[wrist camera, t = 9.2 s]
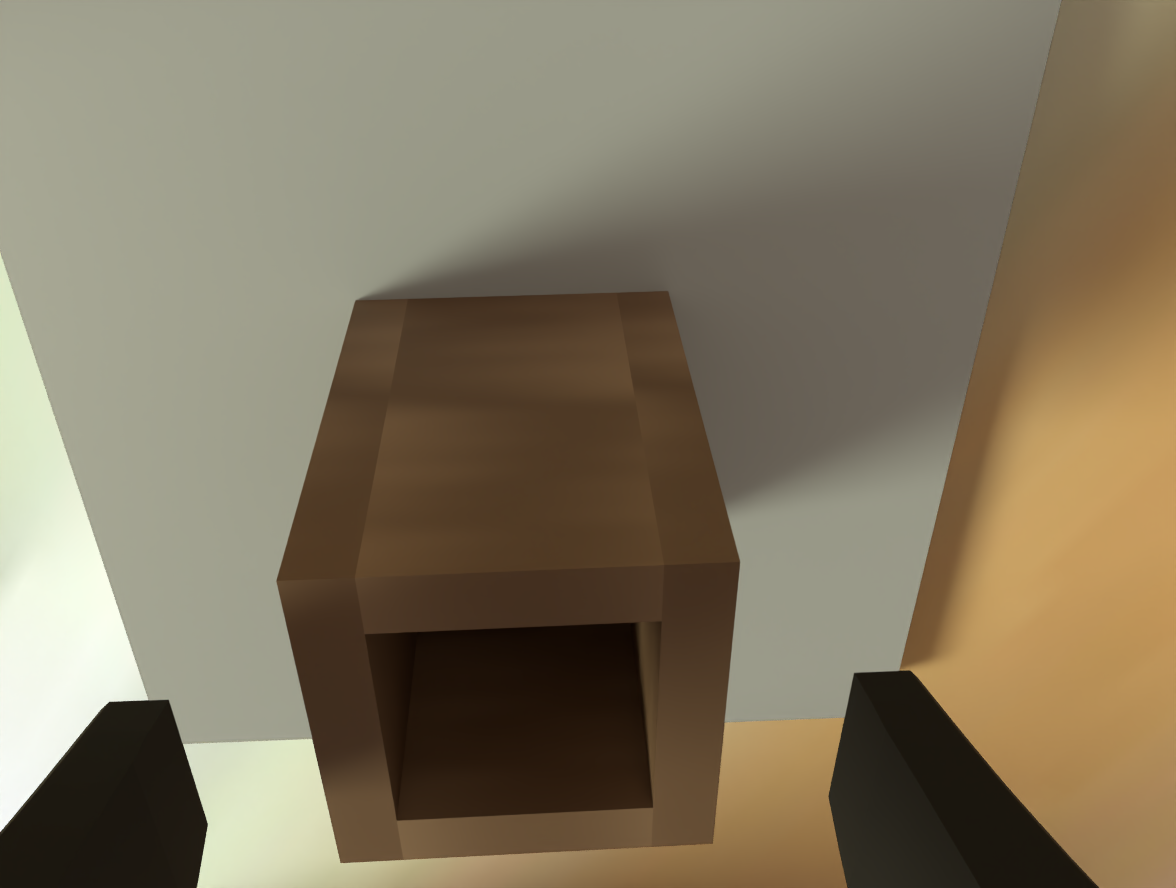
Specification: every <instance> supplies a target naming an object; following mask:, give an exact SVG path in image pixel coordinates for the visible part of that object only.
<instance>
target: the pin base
mask: <svg viewBox="0 0 1176 888" xmlns="http://www.w3.org/2000/svg"><path fill="white" fill-rule="evenodd" d="M1061 1H1062V0H0V253H1V256H2V259H3V262H4V265H5V268H6V271H7V274H8V277H9V280H10V283H11V286H12V289H13V292H14V295H15V298H16V301H17V304H18V307H19V310H20V313H21V316H22V319H23V322H24V325H25V328H26V331H27V334H28V337H29V340H30V343H31V346H32V349H33V352H34V355H35V358H36V361H37V364H38V367H39V371H40V374H41V377H42V380H43V383H44V386H45V389H46V392H47V395H48V398H49V401H50V404H51V407H52V410H53V413H54V416H55V419H56V422H57V425H58V428H59V431H60V434H61V437H62V440H63V443H64V446H65V449H66V452H67V455H68V458H69V461H70V464H71V467H72V470H73V473H74V476H75V479H76V482H77V485H78V488H79V491H80V494H81V497H82V500H83V503H84V506H85V509H86V512H87V515H88V518H89V521H90V524H91V527H92V530H93V533H94V537H95V540H96V543H97V546H98V549H99V552H100V555H101V558H102V561H103V564H104V567H105V570H106V573H107V576H108V579H109V582H110V585H111V588H112V591H113V594H114V597H115V600H116V603H117V606H118V609H119V612H120V615H121V618H122V621H123V624H124V627H125V630H126V633H127V636H128V639H129V642H130V645H131V648H132V651H133V654H134V657H135V660H136V663H137V666H138V669H139V672H140V675H141V678H142V681H143V684H144V687H145V690H146V693H147V696H148V700H169V702H170V705H171V708H172V711H173V714H174V718H175V721H176V724H177V727H178V730H179V734H180V737H181V740H182V743H183V744H192V743H217V742H243V741H268V740H293V739H312V735H311V731H310V727H309V722H308V718H307V713H306V709H305V705H304V700H303V696H302V692H301V687H300V683H299V678H298V674H297V670H296V665H295V661H294V657H293V652H292V648H291V643H290V639H289V635H288V630H287V626H286V622H285V617H284V613H283V608H282V604H281V600H280V595H279V591H278V587H277V582H276V580H277V577H278V573H279V569H280V566H281V562H282V559H283V555H284V552H285V548H286V545H287V541H288V537H289V534H290V530H291V527H292V523H293V520H294V516H295V513H296V509H297V506H298V502H299V498H300V495H301V491H302V488H303V484H304V481H305V477H306V474H307V470H308V466H309V463H310V459H311V456H312V452H313V449H314V445H315V442H316V438H317V434H318V431H319V427H320V424H321V420H322V417H323V413H324V410H325V406H326V403H327V399H328V395H329V392H330V388H331V385H332V381H333V378H334V374H335V371H336V367H337V363H338V360H339V356H340V353H341V349H342V346H343V342H344V339H345V335H346V331H347V328H348V324H349V321H350V317H351V314H352V310H353V307H354V303H355V300H388V299H421V298H455V297H488V296H521V295H554V294H587V293H621V292H654V291H668V292H669V296H670V300H671V303H672V307H673V311H674V315H675V318H676V322H677V326H678V330H679V333H680V337H681V341H682V345H683V348H684V352H685V356H686V360H687V363H688V367H689V371H690V375H691V378H692V382H693V386H694V390H695V394H696V397H697V401H698V405H699V409H700V412H701V416H702V420H703V424H704V427H705V431H706V435H707V439H708V442H709V446H710V450H711V454H712V457H713V461H714V465H715V469H716V472H717V476H718V480H719V484H720V487H721V491H722V495H723V499H724V502H725V506H726V510H727V514H728V517H729V521H730V525H731V529H732V532H733V536H734V540H735V544H736V547H737V551H738V555H739V559H740V571H739V581H738V591H737V601H736V611H735V622H734V632H733V642H732V652H731V662H730V672H729V683H728V693H727V703H726V713H725V722H745V721H770V720H796V719H821V718H845V714H846V709H847V704H848V699H849V694H850V690H851V685H852V680H853V675H854V673H859V672H884V671H899V669H900V665H901V661H902V657H903V653H904V649H905V645H906V640H907V636H908V632H909V628H910V624H911V620H912V616H913V611H914V607H915V603H916V599H917V595H918V591H919V587H920V583H921V578H922V574H923V570H924V566H925V562H926V558H927V554H928V550H929V545H930V541H931V537H932V533H933V529H934V525H935V521H936V517H937V512H938V508H939V504H940V500H941V496H942V492H943V488H944V484H945V479H946V475H947V471H948V467H949V463H950V459H951V455H952V451H953V446H954V442H955V438H956V434H957V430H958V426H959V422H960V418H961V413H962V409H963V405H964V401H965V397H966V393H967V389H968V385H969V380H970V376H971V372H972V368H973V364H974V360H975V356H976V352H977V347H978V343H979V339H980V335H981V331H982V327H983V323H984V319H985V314H986V310H987V306H988V302H989V298H990V294H991V290H992V286H993V281H994V277H995V273H996V269H997V265H998V261H999V257H1000V252H1001V248H1002V244H1003V240H1004V236H1005V232H1006V228H1007V224H1008V219H1009V215H1010V211H1011V207H1012V203H1013V199H1014V195H1015V191H1016V186H1017V182H1018V178H1019V174H1020V170H1021V166H1022V162H1023V158H1024V153H1025V149H1026V145H1027V141H1028V137H1029V133H1030V129H1031V125H1032V120H1033V116H1034V112H1035V108H1036V104H1037V100H1038V96H1039V92H1040V87H1041V83H1042V79H1043V75H1044V71H1045V67H1046V63H1047V59H1048V54H1049V50H1050V46H1051V42H1052V38H1053V34H1054V30H1055V26H1056V21H1057V17H1058V13H1059V9H1060V5H1061Z"/></svg>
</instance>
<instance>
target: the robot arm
mask: <svg viewBox="0 0 1176 888" xmlns="http://www.w3.org/2000/svg"><path fill="white" fill-rule="evenodd" d="M829 801H830V806H831V811H832V816H833V821H834V826H835V831H836V836H837V841H838V846H839V851H840V855H841V860H842V865H843V869H844V874H845V878H846V883H847V887H848V888H1099V887H1098V886H1097V885H1096V884H1095V883H1094V882H1093V881H1092V880H1091V879H1090V878H1089V877H1088V876H1087V874H1086V873H1085V872H1084V871H1083V870H1082V869H1081V868H1080V867H1079V866H1078V865H1077V864H1076V863H1075V862H1074V861H1073V860H1072V859H1071V857H1070V856H1069V855H1068V854H1067V853H1066V852H1065V851H1064V850H1063V849H1062V848H1061V846H1060V845H1059V844H1058V843H1057V842H1056V841H1055V840H1054V839H1053V838H1052V836H1051V835H1050V834H1049V833H1048V832H1047V831H1046V830H1045V829H1044V827H1043V826H1042V825H1041V824H1040V823H1039V822H1038V821H1037V820H1036V819H1035V817H1034V816H1033V815H1032V814H1031V813H1030V812H1029V811H1028V810H1027V809H1026V807H1025V806H1024V805H1023V804H1022V803H1021V802H1020V801H1019V800H1018V798H1017V797H1016V796H1015V795H1014V794H1013V793H1012V791H1011V790H1010V789H1009V788H1008V787H1007V786H1006V784H1005V783H1004V782H1003V781H1002V780H1001V779H1000V777H999V776H998V775H997V774H996V773H995V772H994V770H993V769H992V768H991V767H990V766H989V764H988V763H987V762H986V761H985V760H984V758H983V757H982V756H981V755H980V754H979V752H978V751H977V750H976V749H975V748H974V746H973V745H972V744H971V743H970V742H969V740H968V739H967V738H966V737H965V736H964V734H963V733H962V732H961V731H960V729H959V728H958V727H957V726H956V725H955V723H954V722H953V721H952V720H951V718H950V717H949V716H948V715H947V713H946V712H945V711H944V710H943V708H942V707H941V706H940V705H939V704H938V702H937V701H936V700H935V699H934V697H933V696H932V695H931V694H930V692H929V691H928V690H927V689H926V687H925V686H924V685H923V684H922V682H921V681H920V680H919V679H918V678H917V677H916V676H915V675H914V674H913V673H912V672H911V671H884V672H859V673H854V675H853V680H852V685H851V690H850V694H849V699H848V704H847V709H846V714H845V719H844V724H843V728H842V733H841V738H840V743H839V748H838V753H837V758H836V762H835V767H834V772H833V777H832V782H831V787H830V792H829ZM207 826H208V823H207V820H206V817H205V814H204V811H203V807H202V804H201V801H200V798H199V795H198V791H197V788H196V785H195V782H194V779H193V775H192V772H191V769H190V766H189V763H188V759H187V756H186V753H185V750H184V747H183V743H182V740H181V737H180V734H179V730H178V727H177V724H176V721H175V718H174V714H173V711H172V708H171V705H170V702H169V700H146V701H121V702H109V703H108V704H107V705H106V706H104V707H103V708H102V709H101V710H100V712H99V713H98V714H97V715H96V716H95V718H94V719H93V720H92V721H91V723H90V724H89V725H88V726H87V727H86V729H85V730H84V731H83V732H82V734H81V735H80V736H79V737H78V739H77V740H76V741H75V742H74V743H73V745H72V746H71V747H70V748H69V750H68V751H67V752H66V753H65V755H64V756H63V757H62V758H61V760H60V761H59V762H58V763H57V764H56V766H55V767H54V768H53V769H52V771H51V772H50V773H49V774H48V775H47V777H46V778H45V779H44V780H43V782H42V783H41V784H40V785H39V786H38V788H37V789H36V790H35V791H34V793H33V794H32V795H31V796H30V797H29V799H28V800H27V801H26V802H25V803H24V805H23V806H22V807H21V808H20V809H19V811H18V812H17V813H16V814H15V815H14V817H13V818H12V819H11V820H10V821H9V823H8V824H7V825H6V826H5V827H4V829H3V830H2V831H1V832H0V888H197V883H198V878H199V873H200V867H201V861H202V855H203V849H204V844H205V838H206V832H207Z"/></svg>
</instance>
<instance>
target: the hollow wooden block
mask: <svg viewBox="0 0 1176 888" xmlns="http://www.w3.org/2000/svg"><path fill="white" fill-rule="evenodd" d="M739 571H740V559H739V555H738V551H737V547H736V544H735V540H734V536H733V532H732V529H731V525H730V521H729V517H728V514H727V510H726V506H725V502H724V499H723V495H722V491H721V487H720V484H719V480H718V476H717V472H716V469H715V465H714V461H713V457H712V454H711V450H710V446H709V442H708V439H707V435H706V431H705V427H704V424H703V420H702V416H701V412H700V409H699V405H698V401H697V397H696V394H695V390H694V386H693V382H692V378H691V375H690V371H689V367H688V363H687V360H686V356H685V352H684V348H683V345H682V341H681V337H680V333H679V330H678V326H677V322H676V318H675V315H674V311H673V307H672V303H671V300H670V296H669V292H668V291H654V292H621V293H587V294H554V295H521V296H488V297H455V298H421V299H388V300H355V303H354V307H353V310H352V314H351V317H350V321H349V324H348V328H347V331H346V335H345V339H344V342H343V346H342V349H341V353H340V356H339V360H338V363H337V367H336V371H335V374H334V378H333V381H332V385H331V388H330V392H329V395H328V399H327V403H326V406H325V410H324V413H323V417H322V420H321V424H320V427H319V431H318V434H317V438H316V442H315V445H314V449H313V452H312V456H311V459H310V463H309V466H308V470H307V474H306V477H305V481H304V484H303V488H302V491H301V495H300V498H299V502H298V506H297V509H296V513H295V516H294V520H293V523H292V527H291V530H290V534H289V537H288V541H287V545H286V548H285V552H284V555H283V559H282V562H281V566H280V569H279V573H278V577H277V580H276V582H277V587H278V591H279V595H280V600H281V604H282V608H283V613H284V617H285V622H286V626H287V630H288V635H289V639H290V643H291V648H292V652H293V657H294V661H295V665H296V670H297V674H298V678H299V683H300V687H301V692H302V696H303V700H304V705H305V709H306V713H307V718H308V722H309V727H310V731H311V735H312V740H313V744H314V748H315V753H316V757H317V761H318V766H319V770H320V775H321V779H322V783H323V788H324V792H325V796H326V801H327V805H328V810H329V814H330V818H331V823H332V827H333V831H334V836H335V840H336V845H337V849H338V853H339V858H340V862H341V863H351V862H370V861H389V860H408V859H428V858H447V857H466V856H485V855H504V854H523V853H542V852H561V851H580V850H599V849H618V848H637V847H656V846H676V845H695V844H713V835H714V825H715V815H716V804H717V794H718V784H719V774H720V764H721V754H722V743H723V733H724V723H725V713H726V703H727V693H728V683H729V672H730V662H731V652H732V642H733V632H734V622H735V611H736V601H737V591H738V581H739Z"/></svg>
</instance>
